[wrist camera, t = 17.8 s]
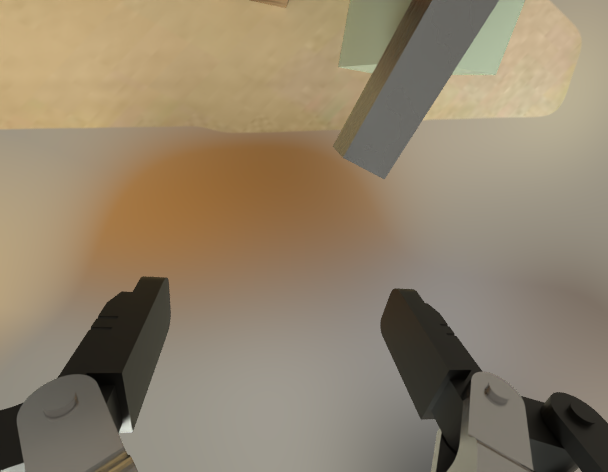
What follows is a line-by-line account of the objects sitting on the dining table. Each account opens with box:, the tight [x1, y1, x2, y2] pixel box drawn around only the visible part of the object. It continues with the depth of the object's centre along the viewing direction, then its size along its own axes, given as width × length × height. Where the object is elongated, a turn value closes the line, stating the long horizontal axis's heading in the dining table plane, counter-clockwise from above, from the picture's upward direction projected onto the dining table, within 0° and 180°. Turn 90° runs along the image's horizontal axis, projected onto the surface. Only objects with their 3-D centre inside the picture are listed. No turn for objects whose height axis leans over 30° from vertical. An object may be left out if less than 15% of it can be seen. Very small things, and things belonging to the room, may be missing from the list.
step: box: [338, 0, 525, 75], centre depth 27 cm, size 5×10×24 cm, turn 171°
